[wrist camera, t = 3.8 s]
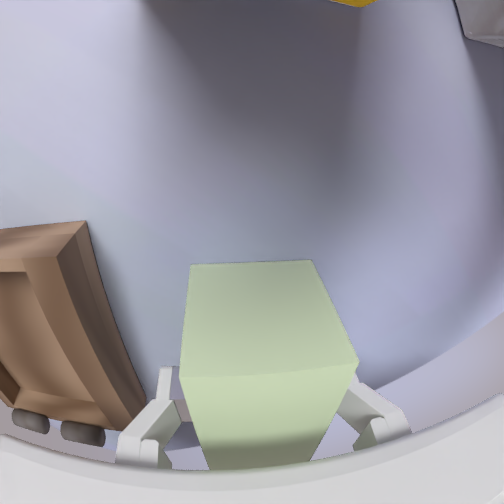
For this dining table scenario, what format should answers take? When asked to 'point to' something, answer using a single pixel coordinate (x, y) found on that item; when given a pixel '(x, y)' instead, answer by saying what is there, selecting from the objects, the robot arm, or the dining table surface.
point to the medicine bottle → (354, 2)
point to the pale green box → (262, 362)
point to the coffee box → (483, 20)
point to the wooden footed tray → (61, 337)
